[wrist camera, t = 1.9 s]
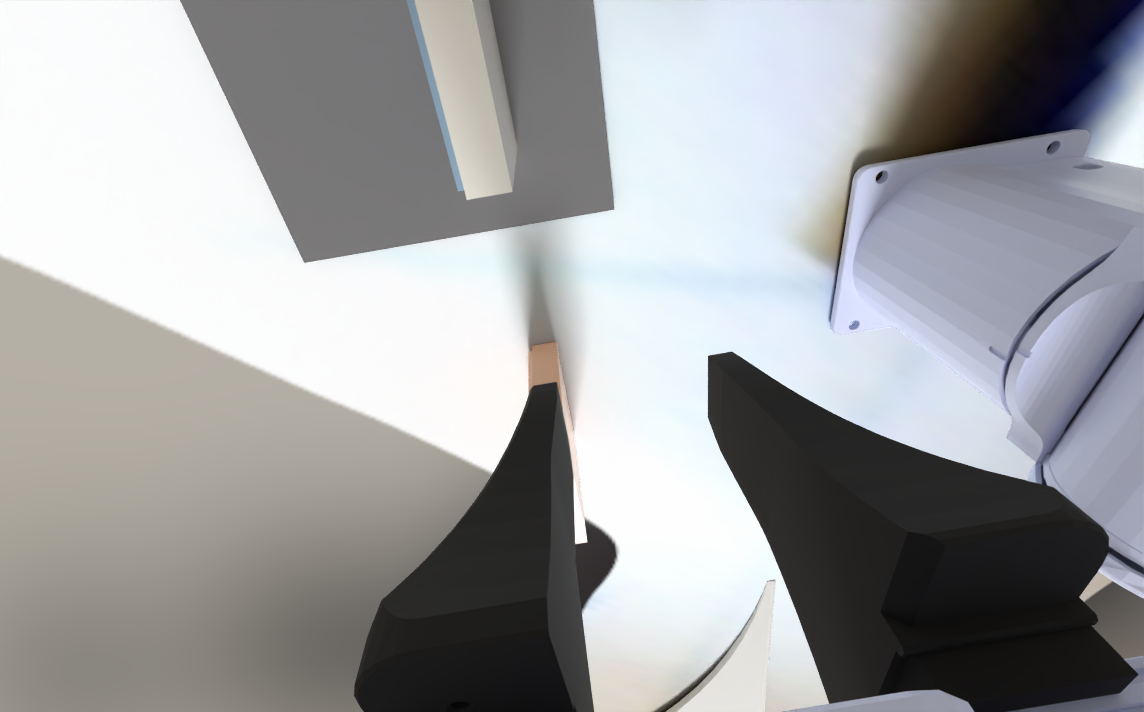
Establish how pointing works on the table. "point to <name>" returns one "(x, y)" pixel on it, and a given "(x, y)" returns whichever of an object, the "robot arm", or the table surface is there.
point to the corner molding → (738, 668)
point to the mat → (403, 118)
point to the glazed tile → (468, 92)
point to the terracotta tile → (547, 371)
